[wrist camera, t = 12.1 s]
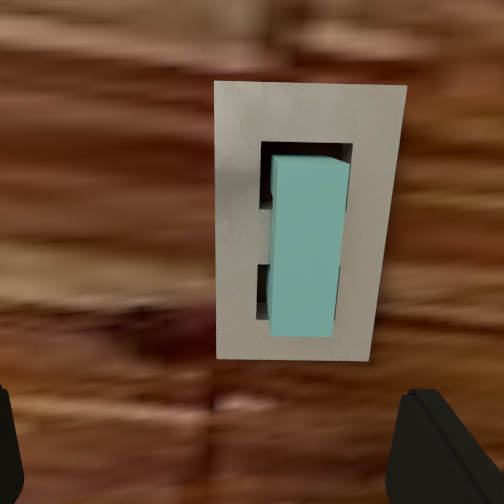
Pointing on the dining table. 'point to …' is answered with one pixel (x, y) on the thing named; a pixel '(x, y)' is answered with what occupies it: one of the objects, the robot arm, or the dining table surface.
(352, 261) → the grey rectangular frame
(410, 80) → the dining table surface
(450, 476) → the robot arm
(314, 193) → the teal notched block
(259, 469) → the dining table surface
